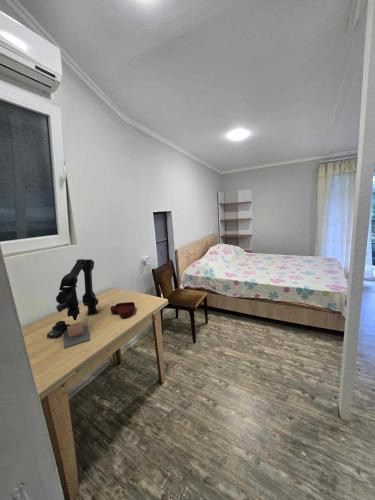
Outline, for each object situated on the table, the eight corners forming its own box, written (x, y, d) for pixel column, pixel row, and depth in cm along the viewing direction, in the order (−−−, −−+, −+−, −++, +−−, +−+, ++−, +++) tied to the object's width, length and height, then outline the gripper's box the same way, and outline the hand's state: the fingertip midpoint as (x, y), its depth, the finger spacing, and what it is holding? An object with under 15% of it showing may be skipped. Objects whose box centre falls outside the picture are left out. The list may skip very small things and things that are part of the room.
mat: (64, 332, 127) (64, 331, 127) (87, 326, 133) (87, 325, 133) (64, 348, 112) (63, 347, 112) (90, 340, 118) (90, 339, 118)
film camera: (55, 331, 118) (43, 325, 121) (54, 342, 120) (42, 336, 123) (75, 321, 131) (63, 315, 134) (73, 331, 133) (62, 325, 135)
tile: (68, 336, 122) (67, 326, 121) (83, 331, 126) (82, 322, 125) (68, 337, 121) (67, 328, 120) (83, 333, 124) (82, 324, 123)
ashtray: (142, 310, 152) (142, 304, 151) (123, 320, 139) (123, 313, 138) (127, 305, 162) (126, 299, 161) (108, 313, 149) (108, 307, 149)
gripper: (56, 294, 129) (60, 317, 132) (55, 305, 113) (59, 331, 116) (76, 290, 135) (80, 312, 138) (77, 300, 119) (81, 325, 122)
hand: (75, 320), depth 128 cm, fingers closed
